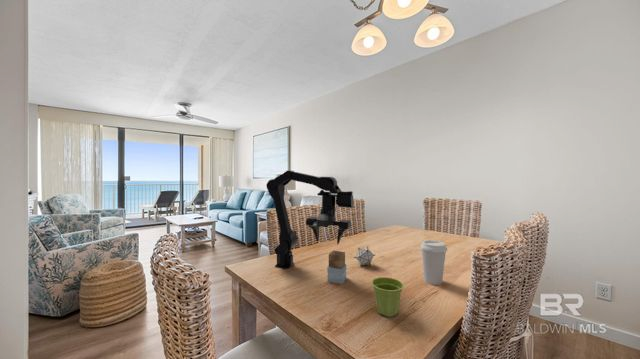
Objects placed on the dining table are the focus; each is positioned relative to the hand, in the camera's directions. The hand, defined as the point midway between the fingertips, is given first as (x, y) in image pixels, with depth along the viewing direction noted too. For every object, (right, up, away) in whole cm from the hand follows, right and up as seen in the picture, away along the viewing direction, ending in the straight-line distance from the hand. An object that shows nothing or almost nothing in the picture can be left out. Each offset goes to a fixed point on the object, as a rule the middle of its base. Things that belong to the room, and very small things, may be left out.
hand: (327, 242), depth 108 cm
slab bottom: (+3, -13, -8) cm, 16 cm away
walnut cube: (+3, -7, -9) cm, 11 cm away
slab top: (+3, -9, -9) cm, 13 cm away
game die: (+17, -12, +7) cm, 22 cm away
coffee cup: (+41, -13, -10) cm, 44 cm away
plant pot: (+17, -13, -31) cm, 38 cm away
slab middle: (+3, -11, -9) cm, 14 cm away
